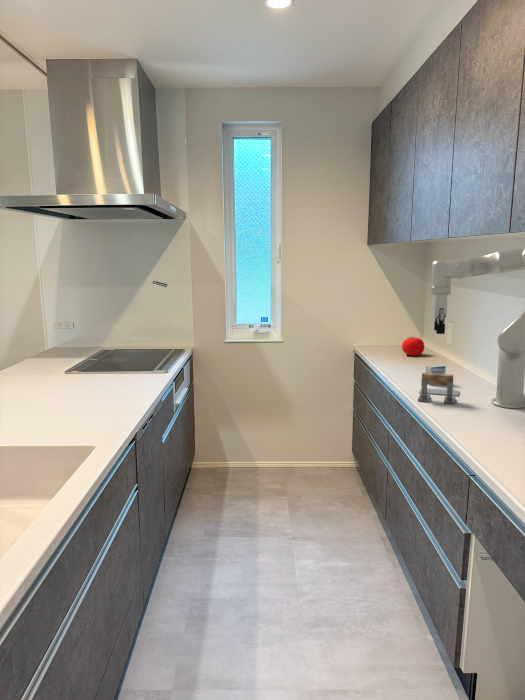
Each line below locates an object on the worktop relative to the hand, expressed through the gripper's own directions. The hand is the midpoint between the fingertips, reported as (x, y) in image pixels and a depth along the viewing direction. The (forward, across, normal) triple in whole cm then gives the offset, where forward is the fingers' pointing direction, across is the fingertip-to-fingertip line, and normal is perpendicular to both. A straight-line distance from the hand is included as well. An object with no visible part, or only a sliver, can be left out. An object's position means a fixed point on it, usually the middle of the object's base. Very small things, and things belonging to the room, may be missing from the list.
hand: (439, 332), depth 200 cm
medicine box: (+28, -23, +1) cm, 36 cm away
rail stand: (+28, +6, 0) cm, 29 cm away
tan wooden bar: (+21, +6, -1) cm, 22 cm away
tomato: (+28, -95, -6) cm, 99 cm away
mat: (+28, -6, +2) cm, 29 cm away
